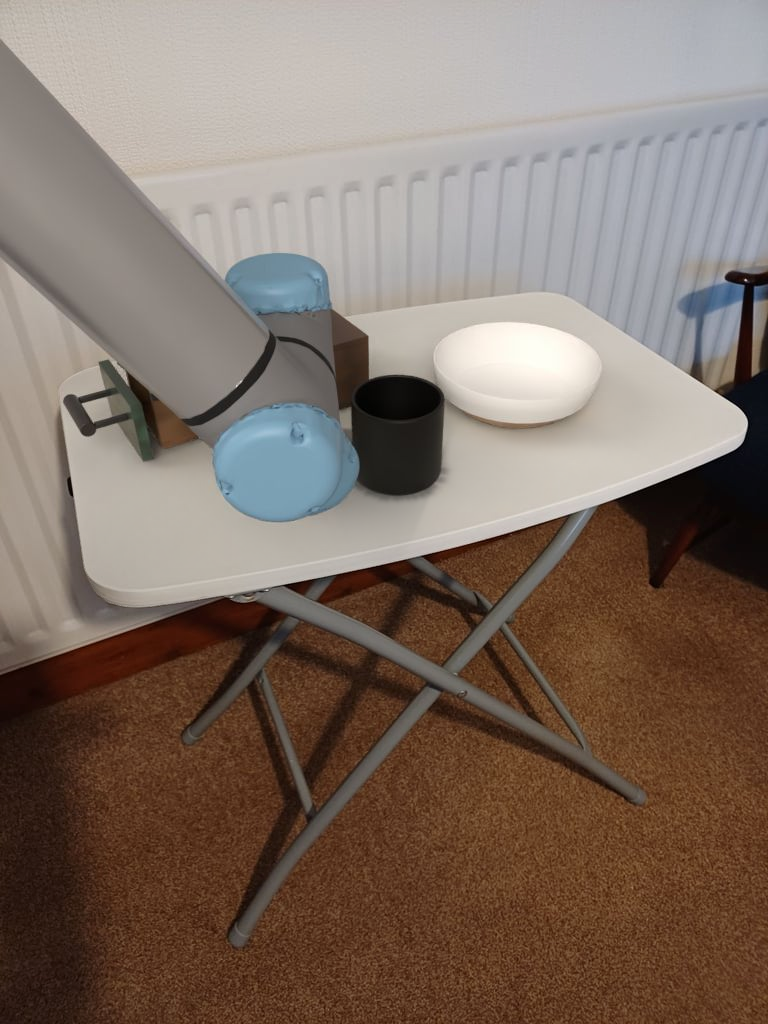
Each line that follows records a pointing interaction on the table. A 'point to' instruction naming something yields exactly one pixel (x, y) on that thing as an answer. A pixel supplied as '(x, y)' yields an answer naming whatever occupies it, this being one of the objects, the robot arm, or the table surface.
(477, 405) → the bowl
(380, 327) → the table surface
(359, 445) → the mug
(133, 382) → the drawer
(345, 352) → the cabinet
